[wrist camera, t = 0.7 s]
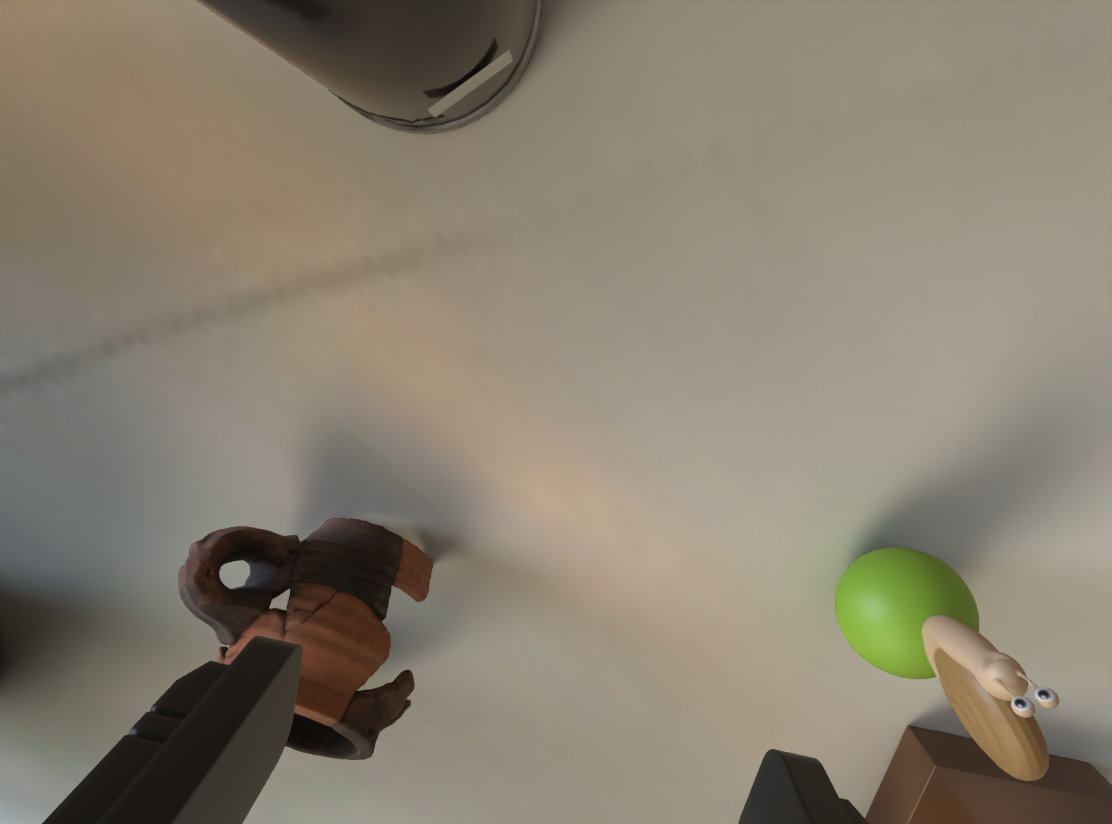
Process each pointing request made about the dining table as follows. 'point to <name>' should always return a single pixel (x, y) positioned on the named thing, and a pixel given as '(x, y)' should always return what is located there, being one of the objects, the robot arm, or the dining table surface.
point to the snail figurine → (943, 650)
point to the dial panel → (982, 787)
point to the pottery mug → (315, 619)
